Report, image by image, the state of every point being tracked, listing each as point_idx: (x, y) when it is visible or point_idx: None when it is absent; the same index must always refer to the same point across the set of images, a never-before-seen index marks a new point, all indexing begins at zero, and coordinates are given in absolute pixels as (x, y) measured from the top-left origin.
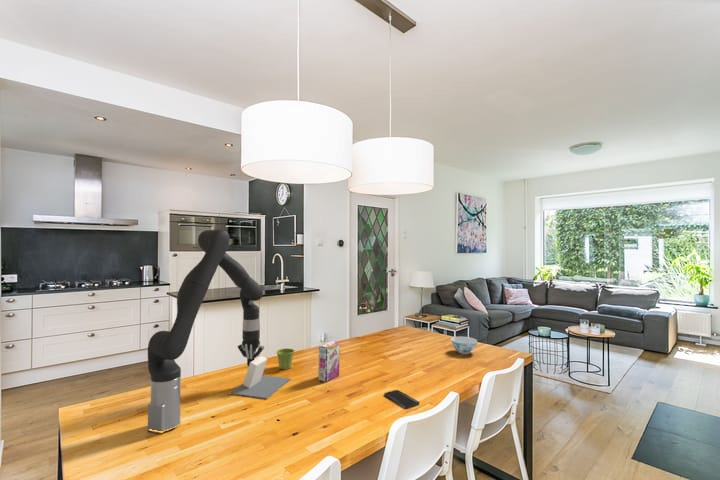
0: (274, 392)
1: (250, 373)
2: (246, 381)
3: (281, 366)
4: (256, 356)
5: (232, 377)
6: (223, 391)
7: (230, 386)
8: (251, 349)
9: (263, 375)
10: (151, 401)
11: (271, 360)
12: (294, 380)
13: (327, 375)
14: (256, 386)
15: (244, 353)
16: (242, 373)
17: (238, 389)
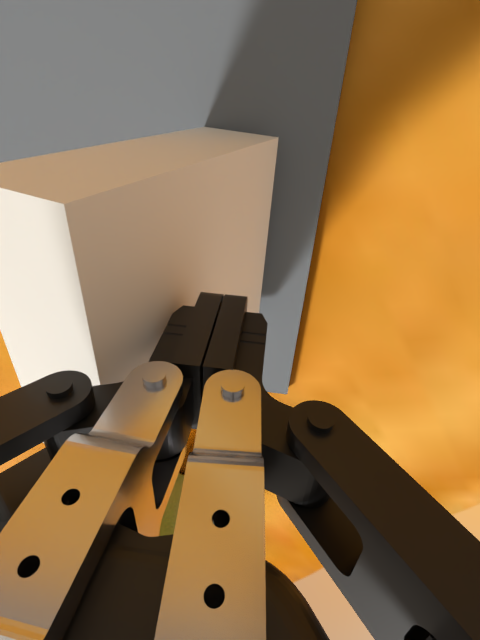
0: None
1: (143, 154)
2: (227, 138)
3: (178, 486)
4: (22, 397)
5: (476, 345)
6: (472, 2)
7: (431, 163)
8: (8, 566)
9: None
10: None
11: (306, 554)
12: (2, 348)
13: None
14: None
15: (322, 470)
16: (415, 411)
17: (300, 66)
